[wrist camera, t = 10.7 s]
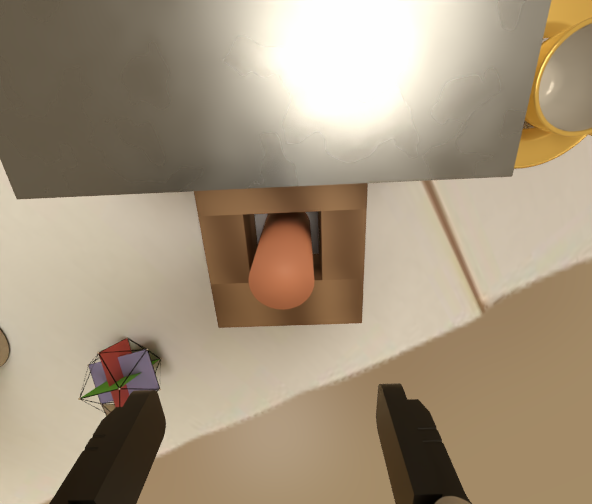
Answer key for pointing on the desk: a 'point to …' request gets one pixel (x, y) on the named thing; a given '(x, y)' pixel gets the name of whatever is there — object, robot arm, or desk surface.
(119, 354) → the geometric puzzle
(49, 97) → the grey metal bench
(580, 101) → the cup
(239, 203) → the socket block
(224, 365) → the desk surface
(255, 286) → the peg
